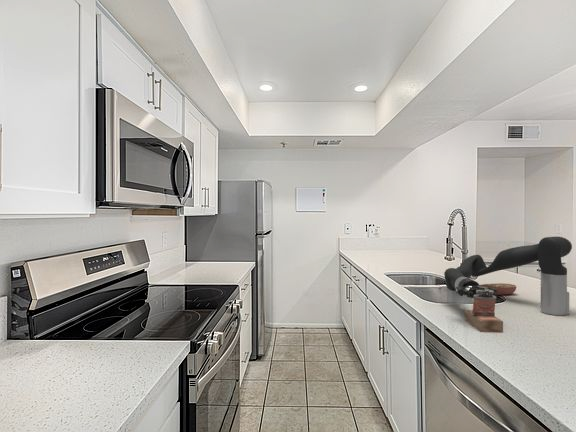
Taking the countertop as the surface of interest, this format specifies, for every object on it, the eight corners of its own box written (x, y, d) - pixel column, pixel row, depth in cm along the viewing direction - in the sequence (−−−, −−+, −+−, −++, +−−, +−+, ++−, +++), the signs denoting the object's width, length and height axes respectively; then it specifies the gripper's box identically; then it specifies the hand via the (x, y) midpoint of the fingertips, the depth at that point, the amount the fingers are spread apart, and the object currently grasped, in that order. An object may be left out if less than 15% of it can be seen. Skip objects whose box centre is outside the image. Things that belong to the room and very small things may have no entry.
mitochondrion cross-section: (485, 299, 181) (485, 289, 180) (470, 294, 190) (470, 285, 190) (520, 295, 187) (520, 286, 187) (504, 291, 196) (504, 282, 196)
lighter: (492, 312, 139) (494, 288, 138) (496, 316, 136) (498, 292, 134) (470, 311, 140) (472, 288, 139) (473, 315, 137) (476, 291, 135)
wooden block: (485, 320, 145) (485, 309, 145) (503, 332, 131) (503, 320, 131) (465, 319, 146) (465, 309, 146) (480, 331, 132) (480, 320, 132)
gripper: (484, 295, 153) (503, 305, 137) (449, 295, 155) (464, 305, 138) (484, 278, 153) (503, 286, 137) (449, 277, 154) (464, 285, 138)
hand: (483, 295), depth 138 cm, fingers open, 8 cm apart
